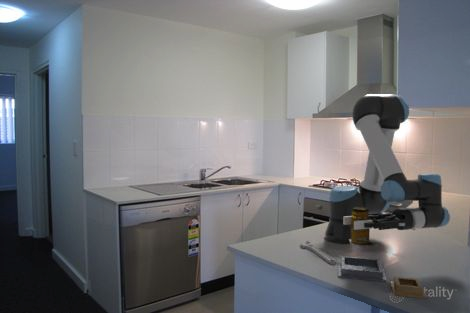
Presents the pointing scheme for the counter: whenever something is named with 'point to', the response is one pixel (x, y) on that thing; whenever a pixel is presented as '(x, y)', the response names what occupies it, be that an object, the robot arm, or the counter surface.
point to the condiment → (360, 235)
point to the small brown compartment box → (408, 287)
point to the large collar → (361, 269)
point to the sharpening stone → (404, 205)
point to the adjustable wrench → (317, 251)
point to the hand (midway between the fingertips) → (349, 222)
